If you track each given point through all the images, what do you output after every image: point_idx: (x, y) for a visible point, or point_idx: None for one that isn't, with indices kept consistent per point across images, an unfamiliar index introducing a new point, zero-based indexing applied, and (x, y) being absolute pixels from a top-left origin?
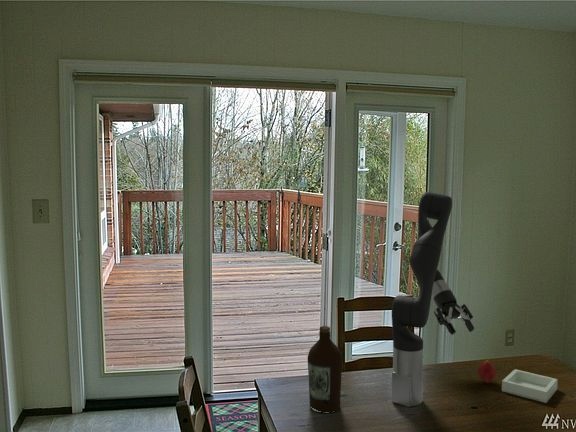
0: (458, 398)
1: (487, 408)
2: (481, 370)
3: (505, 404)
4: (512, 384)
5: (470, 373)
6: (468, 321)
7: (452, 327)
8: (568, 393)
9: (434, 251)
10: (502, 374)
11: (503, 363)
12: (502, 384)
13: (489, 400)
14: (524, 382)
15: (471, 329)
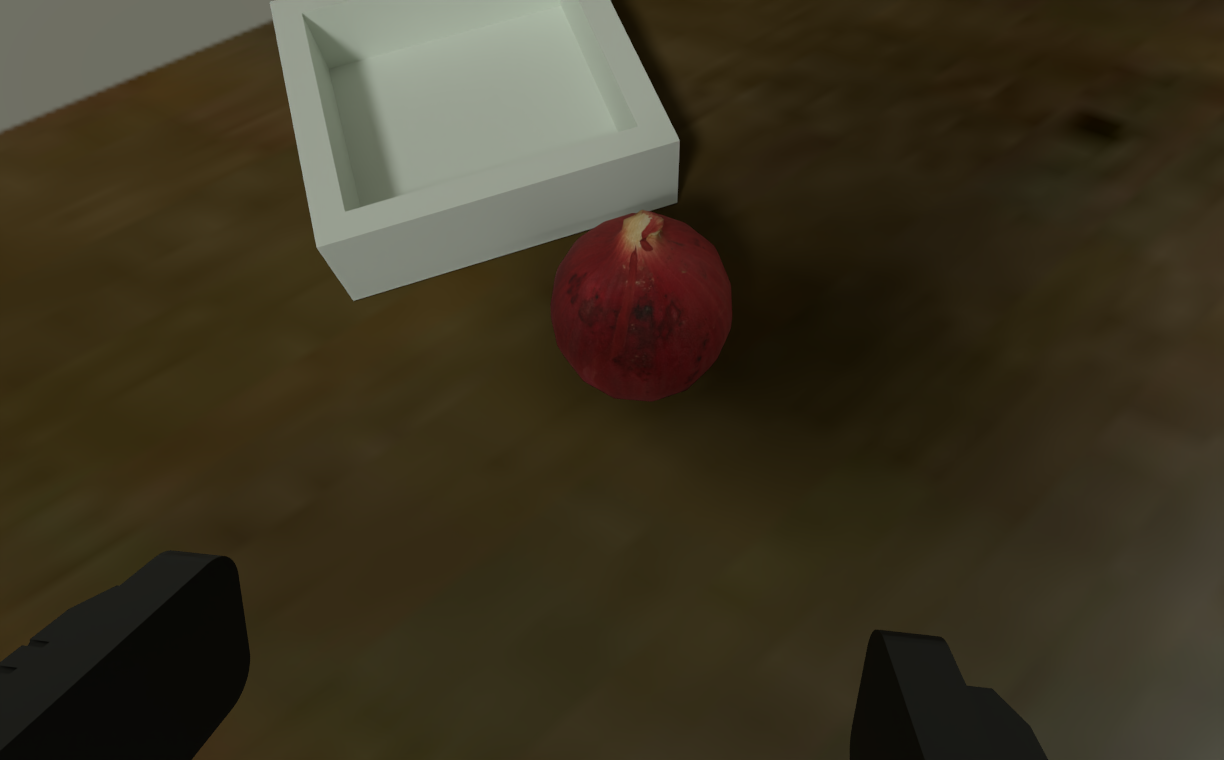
0: (1122, 264)
1: (1009, 84)
2: (728, 287)
3: (839, 73)
4: (649, 85)
5: (582, 599)
6: (4, 744)
7: (974, 746)
8: None
9: None
10: (335, 416)
11: (13, 612)
12: (677, 158)
13: (899, 148)
14: (391, 197)
15: (226, 601)
